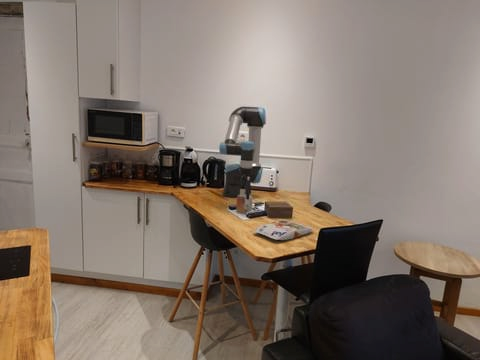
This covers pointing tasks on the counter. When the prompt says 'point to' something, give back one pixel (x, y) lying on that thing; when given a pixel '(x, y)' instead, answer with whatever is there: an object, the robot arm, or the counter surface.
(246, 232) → the counter surface
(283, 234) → the dog food
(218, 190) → the counter surface
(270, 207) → the walnut block
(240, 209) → the small box
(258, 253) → the counter surface
